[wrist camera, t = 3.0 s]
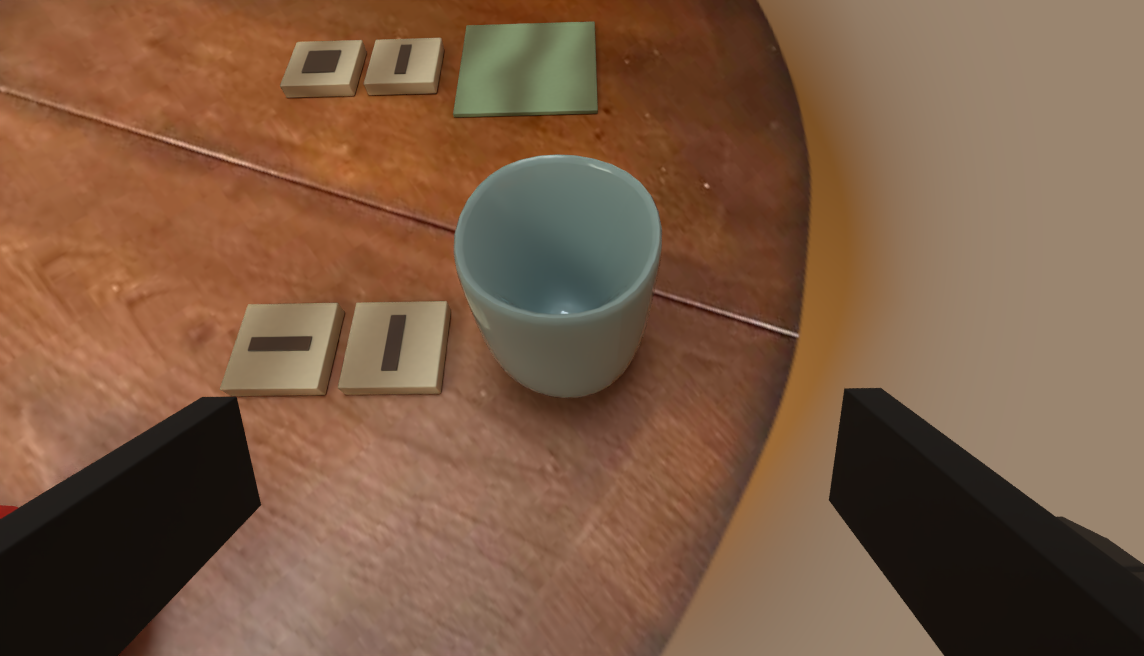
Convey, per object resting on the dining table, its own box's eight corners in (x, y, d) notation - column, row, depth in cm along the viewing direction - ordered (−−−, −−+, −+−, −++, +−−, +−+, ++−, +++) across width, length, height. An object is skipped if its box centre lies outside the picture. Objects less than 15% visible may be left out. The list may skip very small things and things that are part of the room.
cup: (649, 297, 29) (675, 163, 20) (630, 431, 26) (651, 339, 17) (514, 277, 30) (483, 141, 21) (477, 404, 27) (421, 303, 18)
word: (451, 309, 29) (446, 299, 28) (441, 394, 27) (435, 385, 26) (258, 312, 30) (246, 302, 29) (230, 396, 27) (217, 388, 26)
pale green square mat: (594, 25, 41) (594, 10, 40) (597, 113, 36) (597, 99, 35) (310, 33, 42) (303, 19, 41) (277, 121, 37) (268, 108, 36)
